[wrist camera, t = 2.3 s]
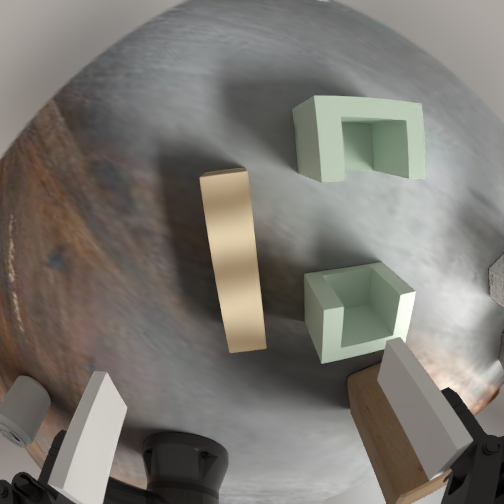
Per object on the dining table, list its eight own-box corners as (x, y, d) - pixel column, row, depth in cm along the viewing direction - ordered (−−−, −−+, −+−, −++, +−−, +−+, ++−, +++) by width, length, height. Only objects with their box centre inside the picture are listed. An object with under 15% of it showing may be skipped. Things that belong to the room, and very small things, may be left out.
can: (57, 407, 35) (35, 457, 24) (26, 394, 34) (2, 439, 23) (46, 380, 32) (17, 433, 21) (14, 367, 31) (-17, 413, 20)
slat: (261, 319, 30) (266, 348, 26) (229, 323, 30) (229, 353, 26) (244, 167, 25) (247, 171, 20) (205, 172, 25) (199, 177, 20)
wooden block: (344, 374, 34) (398, 498, 16) (407, 346, 34) (480, 450, 15) (349, 411, 38) (389, 514, 19) (404, 387, 38) (456, 478, 19)
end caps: (377, 308, 31) (404, 343, 24) (304, 322, 31) (321, 363, 24) (380, 110, 23) (421, 103, 17) (292, 108, 23) (314, 95, 16)
